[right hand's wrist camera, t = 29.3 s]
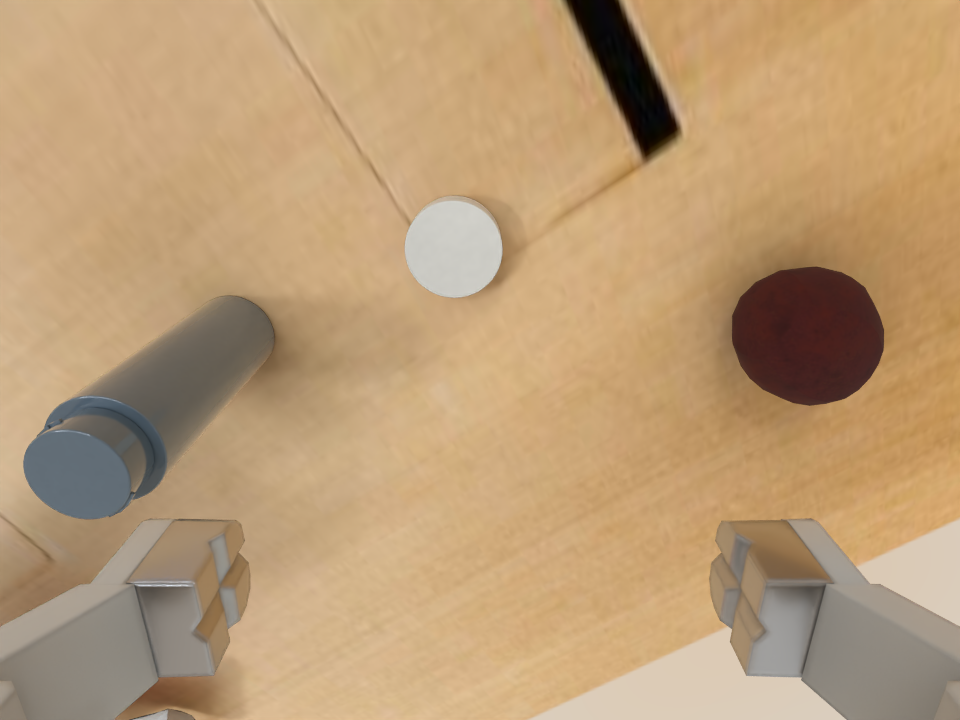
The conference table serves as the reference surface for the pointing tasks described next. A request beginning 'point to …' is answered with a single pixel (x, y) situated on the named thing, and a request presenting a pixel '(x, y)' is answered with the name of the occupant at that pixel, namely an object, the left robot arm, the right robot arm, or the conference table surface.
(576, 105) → the conference table surface
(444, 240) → the lid
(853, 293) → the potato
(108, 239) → the conference table surface
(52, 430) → the bottle
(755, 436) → the conference table surface
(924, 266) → the conference table surface
